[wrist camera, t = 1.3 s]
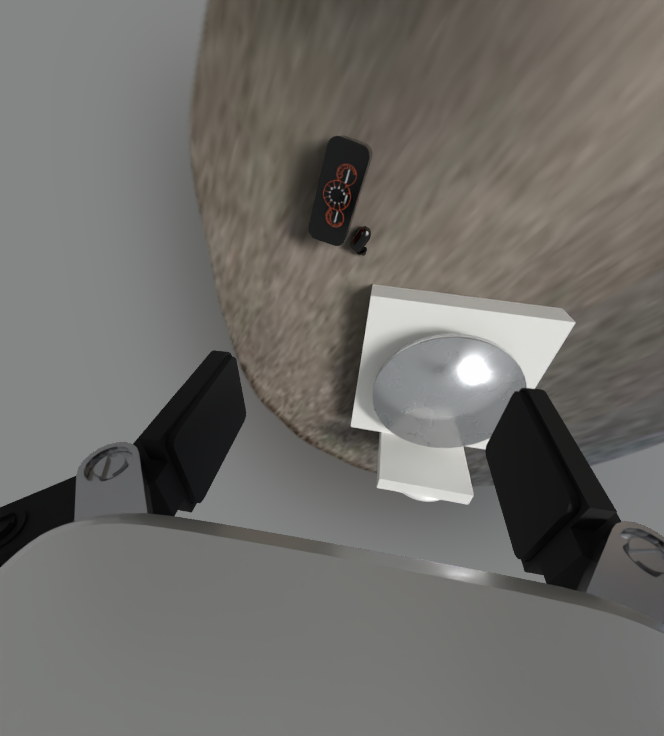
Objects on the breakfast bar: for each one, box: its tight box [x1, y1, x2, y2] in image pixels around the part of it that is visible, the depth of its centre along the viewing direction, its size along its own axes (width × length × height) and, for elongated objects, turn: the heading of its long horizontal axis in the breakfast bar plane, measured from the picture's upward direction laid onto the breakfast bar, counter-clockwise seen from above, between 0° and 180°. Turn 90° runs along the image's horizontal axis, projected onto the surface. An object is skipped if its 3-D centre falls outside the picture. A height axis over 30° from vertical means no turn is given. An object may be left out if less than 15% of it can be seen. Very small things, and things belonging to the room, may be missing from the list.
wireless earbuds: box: [309, 135, 372, 256], centre depth 23 cm, size 5×7×3 cm, turn 164°
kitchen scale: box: [351, 284, 576, 504], centre depth 29 cm, size 18×16×9 cm
